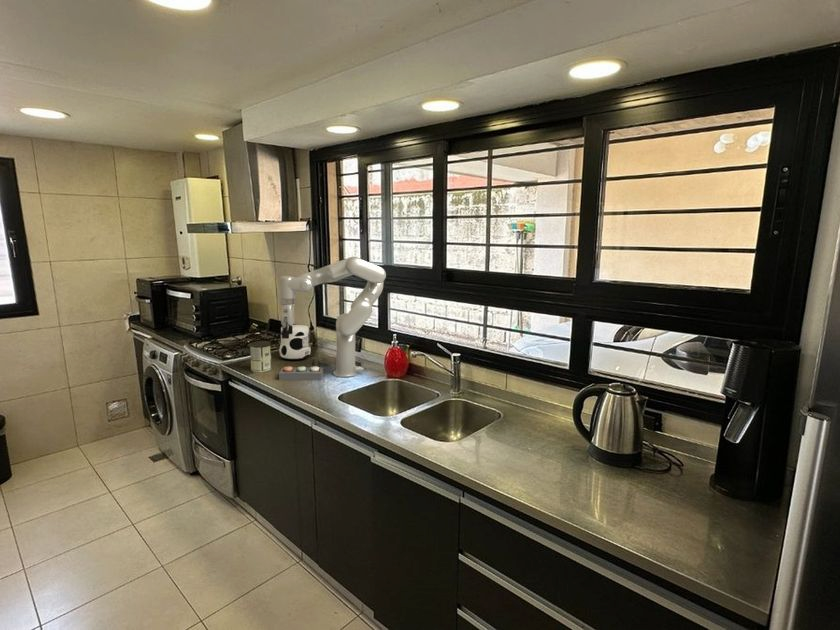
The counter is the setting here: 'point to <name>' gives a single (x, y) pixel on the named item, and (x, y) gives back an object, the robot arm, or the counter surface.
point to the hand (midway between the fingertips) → (287, 336)
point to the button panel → (301, 374)
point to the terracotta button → (288, 369)
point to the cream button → (315, 369)
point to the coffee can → (260, 356)
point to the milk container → (296, 344)
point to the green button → (301, 369)
